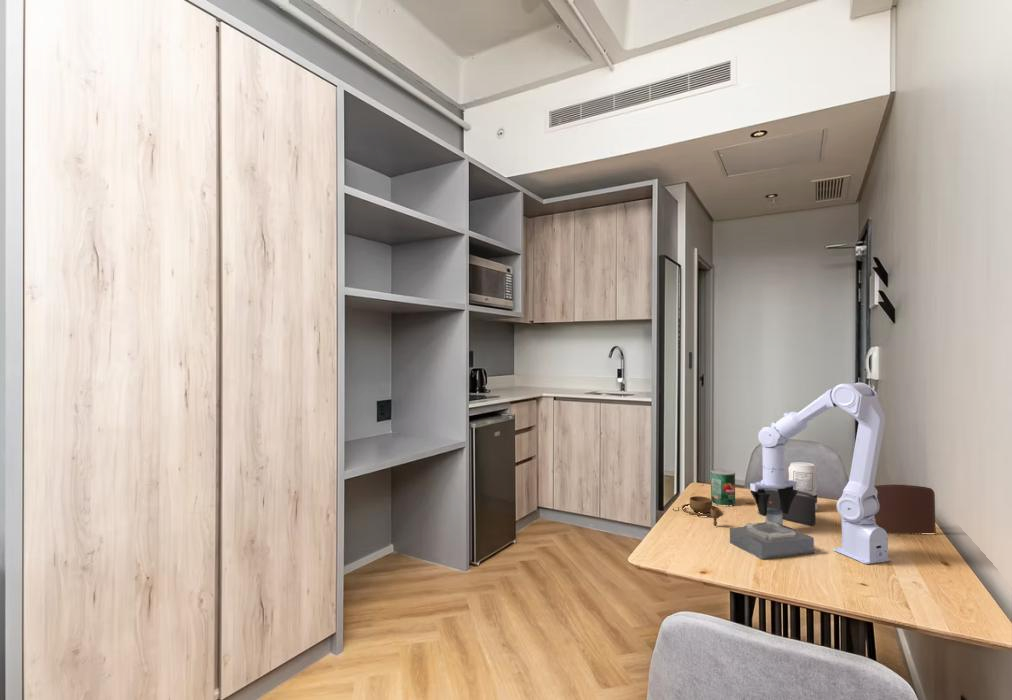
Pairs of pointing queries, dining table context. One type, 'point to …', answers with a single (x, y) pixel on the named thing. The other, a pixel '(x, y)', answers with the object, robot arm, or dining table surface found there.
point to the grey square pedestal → (771, 540)
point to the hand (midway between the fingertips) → (773, 514)
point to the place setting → (703, 507)
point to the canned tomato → (723, 487)
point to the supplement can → (804, 477)
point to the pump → (774, 515)
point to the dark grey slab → (795, 507)
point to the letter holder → (905, 509)
